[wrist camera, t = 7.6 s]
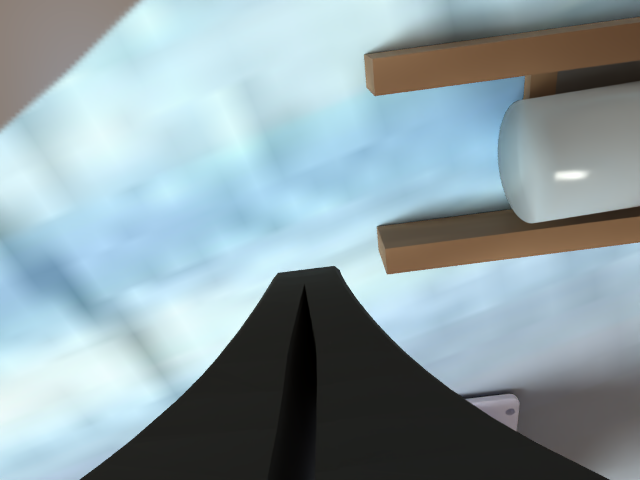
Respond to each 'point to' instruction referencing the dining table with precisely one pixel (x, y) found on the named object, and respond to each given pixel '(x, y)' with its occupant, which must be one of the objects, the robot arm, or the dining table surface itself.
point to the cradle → (540, 80)
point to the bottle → (572, 153)
